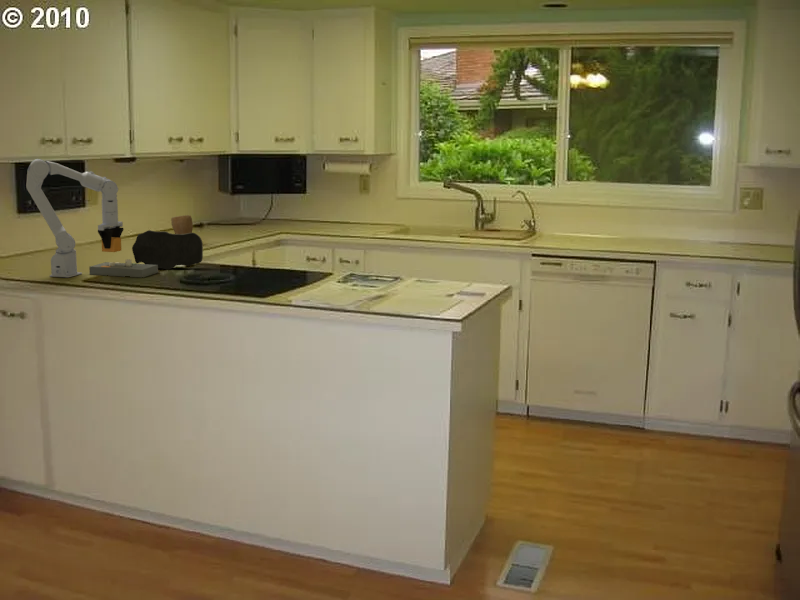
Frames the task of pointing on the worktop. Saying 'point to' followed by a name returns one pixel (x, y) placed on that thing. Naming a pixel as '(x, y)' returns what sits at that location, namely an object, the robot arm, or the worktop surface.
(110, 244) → the robot arm
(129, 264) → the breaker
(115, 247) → the orange cube
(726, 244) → the worktop surface
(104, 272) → the board
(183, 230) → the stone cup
